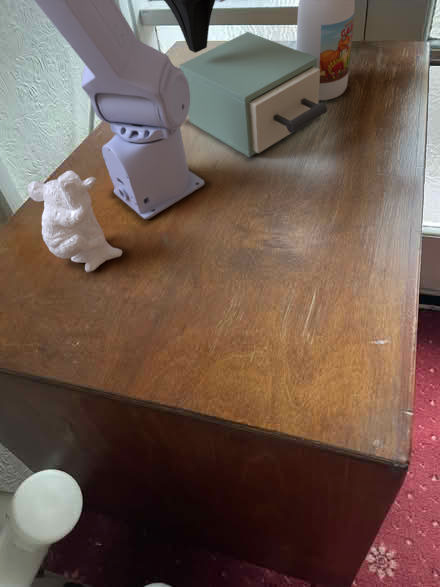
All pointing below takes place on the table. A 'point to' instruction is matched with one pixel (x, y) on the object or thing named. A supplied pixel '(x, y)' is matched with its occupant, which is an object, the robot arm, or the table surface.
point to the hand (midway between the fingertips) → (198, 48)
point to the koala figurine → (72, 220)
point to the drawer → (285, 109)
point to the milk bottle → (327, 41)
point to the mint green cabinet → (238, 84)
